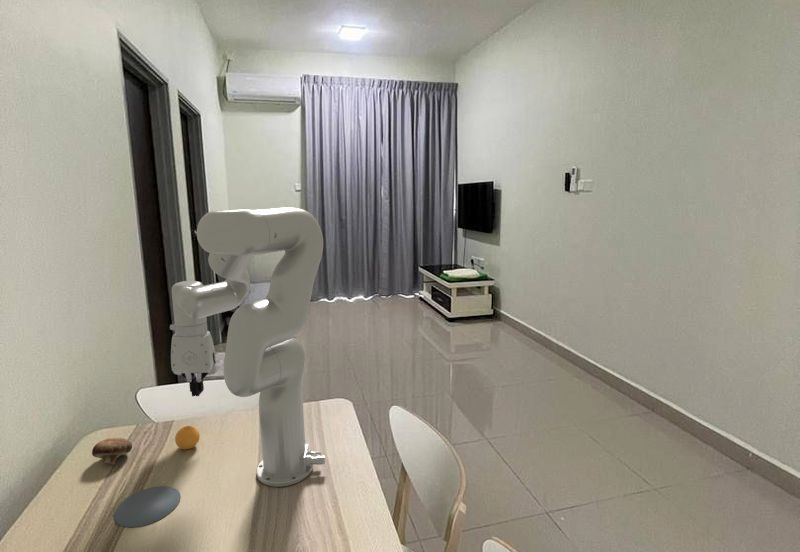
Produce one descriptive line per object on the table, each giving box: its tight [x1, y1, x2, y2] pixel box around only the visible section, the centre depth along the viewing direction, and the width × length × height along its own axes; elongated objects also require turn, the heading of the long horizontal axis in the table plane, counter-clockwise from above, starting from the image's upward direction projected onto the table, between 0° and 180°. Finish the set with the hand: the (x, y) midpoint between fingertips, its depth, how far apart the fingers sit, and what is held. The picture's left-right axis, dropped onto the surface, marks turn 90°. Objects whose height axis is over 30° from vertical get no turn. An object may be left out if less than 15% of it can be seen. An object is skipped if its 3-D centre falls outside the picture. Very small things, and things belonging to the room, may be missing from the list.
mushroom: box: [91, 437, 133, 466], centre depth 109 cm, size 8×8×6 cm
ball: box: [175, 425, 200, 450], centre depth 114 cm, size 6×6×6 cm
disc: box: [113, 485, 182, 528], centre depth 94 cm, size 12×12×1 cm
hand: (197, 393), depth 122 cm, fingers closed
